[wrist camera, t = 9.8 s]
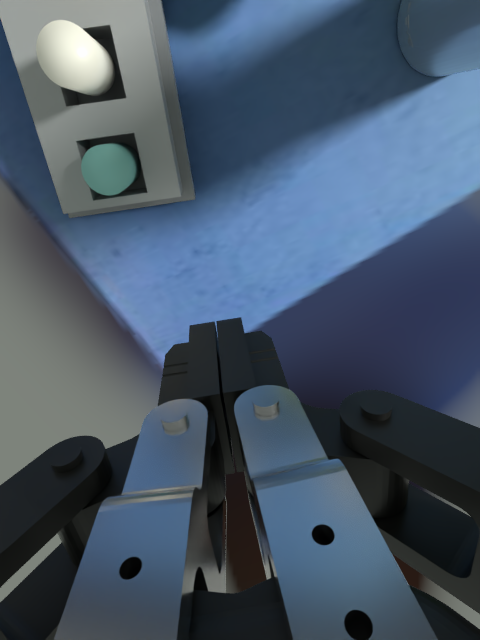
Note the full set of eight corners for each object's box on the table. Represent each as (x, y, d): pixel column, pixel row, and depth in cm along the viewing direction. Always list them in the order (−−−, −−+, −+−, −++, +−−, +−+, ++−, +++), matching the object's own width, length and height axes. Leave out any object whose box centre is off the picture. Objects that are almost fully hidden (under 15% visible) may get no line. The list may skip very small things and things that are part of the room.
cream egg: (107, 37, 29) (87, 16, 24) (120, 92, 31) (103, 84, 25) (59, 43, 29) (27, 24, 24) (74, 99, 31) (47, 92, 25)
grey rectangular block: (145, -97, 31) (131, -156, 24) (195, 194, 40) (194, 206, 34) (-11, -78, 30) (-65, -131, 24) (78, 212, 40) (55, 227, 34)
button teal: (135, 139, 34) (123, 141, 29) (145, 182, 36) (135, 191, 31) (94, 145, 34) (74, 148, 29) (105, 188, 36) (89, 198, 31)
